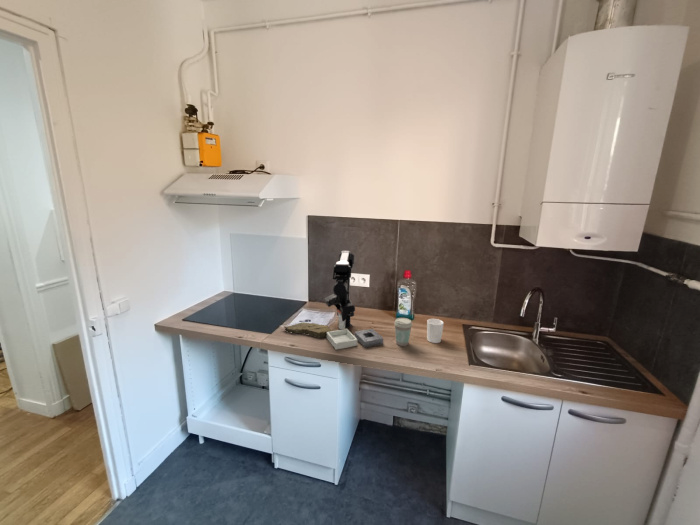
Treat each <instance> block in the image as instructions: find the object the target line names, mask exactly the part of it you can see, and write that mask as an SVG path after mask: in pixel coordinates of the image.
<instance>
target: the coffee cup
mask: <svg viewBox="0 0 700 525" xmlns="http://www.w3.org/2000/svg"><path fill="white" fill-rule="evenodd" d="M393 324H394V329H395V342H396V345H398V346H400V347H406V346H408V345H409V341H410V337H411V336H410V335H411V330H412V326H413V323H412V320H411V319H409V318H407V317H398V318H396V319H395V321H394V323H393Z"/></svg>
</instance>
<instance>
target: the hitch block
mask: <svg viewBox="0 0 700 525" xmlns="http://www.w3.org/2000/svg"><path fill="white" fill-rule="evenodd" d="M354 336H355V337H356V339H357V342H358V343H359V344H361V345H362V346H363V347H364V348H370V347H374V346H381V345H384V337H382V335H381V334H379V333H378V332H377V331H375V330H374V329H373V328H369V329H362V330H356V331H354Z"/></svg>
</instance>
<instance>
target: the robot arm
mask: <svg viewBox="0 0 700 525" xmlns="http://www.w3.org/2000/svg"><path fill="white" fill-rule="evenodd" d="M355 264H356V263H355V255H354V254H352V252H351V251H350V250H342V251H341V252H340V253H339V254H338V261H336V263H335V265H333V274H332V280H335V283H334V286H333V289H332V290H333V293H332V294H330V295H327V296H326V297H324V298H323V300H324V302H325V305H326V306H327V307H332V306H334V307H335V308H336V310H337V309H339V308H340V309H339V310H340V311H341V317H342V321H345V328H344V329H348V328H353V324H352V323H351V318H353V317H354V316H355V311H356V306H355V305H354V304H353V302H352V301H351V299H350V288H351V287H350V286H351V278H352V270H353V268H354V265H355ZM336 312H337V311H336ZM336 314H337V317H338V312H337V313H336Z"/></svg>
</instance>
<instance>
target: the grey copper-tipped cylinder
mask: <svg viewBox="0 0 700 525" xmlns="http://www.w3.org/2000/svg"><path fill="white" fill-rule="evenodd" d="M339 309H340V308H339ZM339 309H337V308H336V312H338V316H337V317H338V318H337V319H338V321H337V322H338V323H337V325H338V327H337V328H338V329H339V330H342V329H346V328H345V321H342V317H341V311H340V310H339Z"/></svg>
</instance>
